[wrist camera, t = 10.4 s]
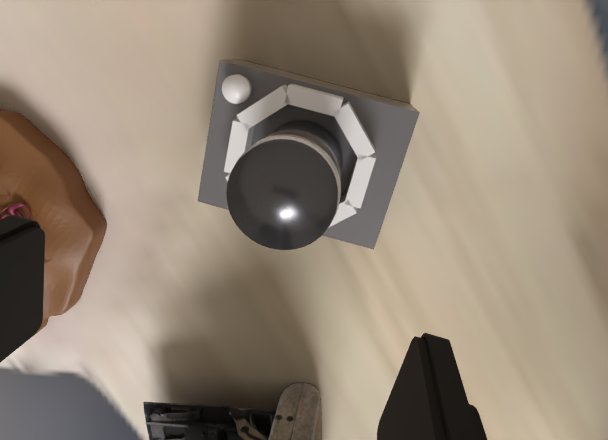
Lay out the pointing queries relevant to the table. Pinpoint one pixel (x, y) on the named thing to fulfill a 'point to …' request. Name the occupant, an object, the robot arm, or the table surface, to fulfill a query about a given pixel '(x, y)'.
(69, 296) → the plant
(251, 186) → the lens
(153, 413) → the vintage camera
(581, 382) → the table surface
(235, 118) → the grey hollow block
